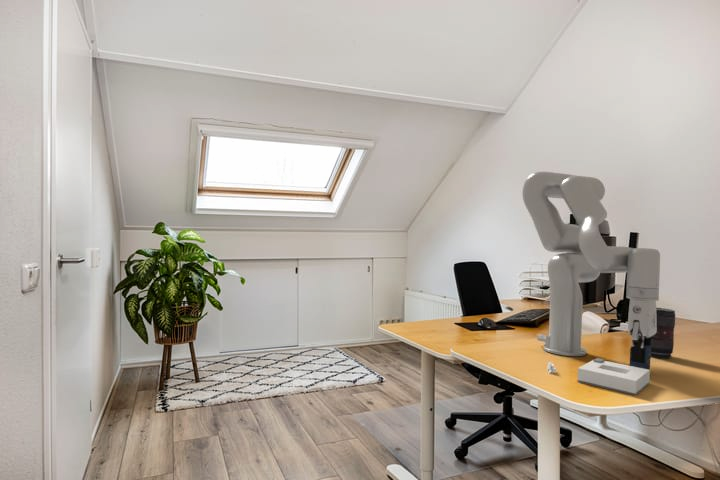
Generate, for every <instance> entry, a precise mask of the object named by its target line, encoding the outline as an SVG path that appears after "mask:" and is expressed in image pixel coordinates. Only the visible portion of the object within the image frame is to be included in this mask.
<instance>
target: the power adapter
mask: <svg viewBox="0 0 720 480" xmlns="http://www.w3.org/2000/svg"><path fill="white" fill-rule="evenodd" d="M546 366H547V368H546V369H547V372H548V373H547V374H553V373H554V374H556V373H557V368H555V365H554V363H552V362H550V361H549V362H548V364H547V365H546Z"/></svg>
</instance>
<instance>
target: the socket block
mask: <svg viewBox="0 0 720 480" xmlns="http://www.w3.org/2000/svg"><path fill="white" fill-rule="evenodd" d="M650 375H651V369H650V370H648V369H643V368H638V367H633V366H630V365H628V364H623V363H617V362H612V361H607V360H605V359H603V358H600V357H599V358H598V357H596V358H595V359H592V360H591V361H589V362H587V363H585V364H583V365H581V366H579V367H578V368H577V383H580V384H585V385H589V386H593V387H598V388H602V389H606V390H610V391H614V392H619V393H623V394H627V395H632V396H637V395H638V394H639V393H640V392H641V391H643V390H644V389H645V388H646V387H647V386H648V385H649V384H650V380H651V379H650Z"/></svg>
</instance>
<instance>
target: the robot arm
mask: <svg viewBox="0 0 720 480" xmlns="http://www.w3.org/2000/svg"><path fill="white" fill-rule="evenodd" d="M521 193H522V199H523V203H524V206H525V208H526V209H527V211H528V213H529V216H530V217H531V220H532V222H533V225H534V227H535V231H536V233H537V236H538V237H539V239H540V243H541V244H542V247H543V249H545V250H546V251H548V252H551V253H557V254H555V255H553V257H551V259H549V261H548V264H547V275H548V280H549V322H548V323H549V325H548V327H549V328H548V334H547V335H544V334H541V333H540V334H539V333H538V334H537V336H536V338H537V342H544V343H545V344H544V345H543V350H544V351H546V352H547V353H549V354H550V353H551V354H554V355H558V356H564V357H582V356H586V355H587V349H585V348H584V347H582V332H583V331H582V329H583V327H582V326H583V324H582V323H583V302H584V301H583V294H582V293H583V292H582V290H581V287H580V284H579V283H590V282H594V281H596V280H597V279H598V278H599V277H600V274H609V273H612V274H613V273H614V274H615V273H616V274H617V273H618V274H619V273H622V274H623V273H626V293H625V294H626V297H625V298H626V299H629V305H628V318H627V321H628V322H627V333H628V334H629V336H631V346H632V348H631V347H630V348H631V361H633V362H638V363H645V351H646V348H644V344H645V336H646V338H649V337H651V336H653V335H654V334H656V332H657V313H656V308H657V302H658V301H659V300H660V298H659V297H660V273H661V269H660V268H661V253H660V251H659V250H658V249H656V248H646V247H645V248H643V247H636V248H634V247H629V246H616V245H615V246H613V245H612V246H611V245H610V246H609V245H607V244H606V242H605V240H604V238H603V237H602V235H601V233H600V229H599V225H600V224H602V223H603V222H604V221H605V220H606V219H607V217H608V211H607V210H606V208H605V207H604V205H603V204H602V202H601V200H603V198H604V196H605V193H606V187H605V185H604V184H603V182H602V181H601V180H600V179H599V178H597V177H591V176H583V175H576V174H575V175H574V174H569V173H560V172H553V171H536V172H533V173H531V174H530V175H528V176H527V177H526V179H525V180H524V183H523V186H522V192H521ZM551 198H552V199H563V201H564V202H565V204H566V206H567V207H568V209H569V211H570V213H572V216H573V217H574V219H575V221H576V223H577V224H578V225H577V224H571V223H565V222H564V221H563V219H562V217H561V215H560V212H559V210H558V208H557V207H556V206H555V204H554V203H552V201H551V200H550V199H551ZM641 334H642V336H641Z"/></svg>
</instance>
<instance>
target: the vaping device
mask: <svg viewBox="0 0 720 480" xmlns="http://www.w3.org/2000/svg"><path fill="white" fill-rule="evenodd" d="M641 336H642V334H641ZM629 348H630V349H629V366H633V367H638V368H643V369H648V370H650V371H651V358H652V357H651V337H649V338H646V336H645V344H644V348H646V351H645V363H638V362H633V361H631V348H632V345H631V347H629Z"/></svg>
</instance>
